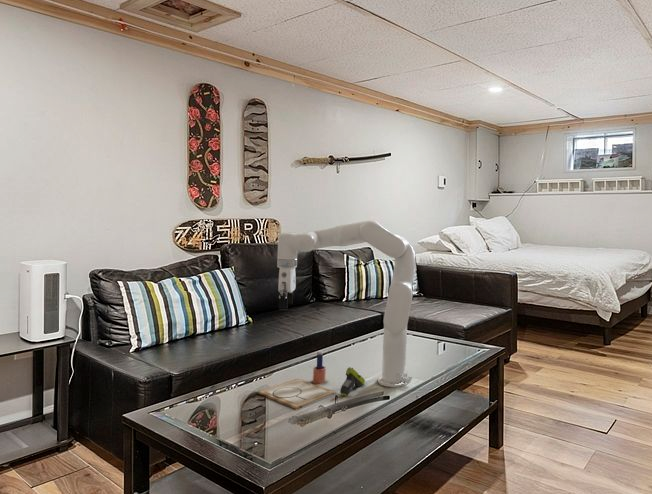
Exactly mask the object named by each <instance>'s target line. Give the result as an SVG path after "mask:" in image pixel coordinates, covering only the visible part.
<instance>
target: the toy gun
mask: <svg viewBox="0 0 652 494" xmlns="http://www.w3.org/2000/svg"><path fill="white" fill-rule="evenodd" d="M345 376H346V378H345V380H344V382H343V383H342V385H341V386H340V389H339V390H340V391H339V393H340V394H341V395H342V396H344V397H346V398H348V397H349V394H350V391H351V390H357V388H358V387H362V386H364V384H365V382H366V379H365V378H364V377H363V376H362V375H360V374H359V373H358V372H357V370H356V369H354V368H353V367H351V366H350V367H349V366H348V367H347V368H346V371H345Z"/></svg>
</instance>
